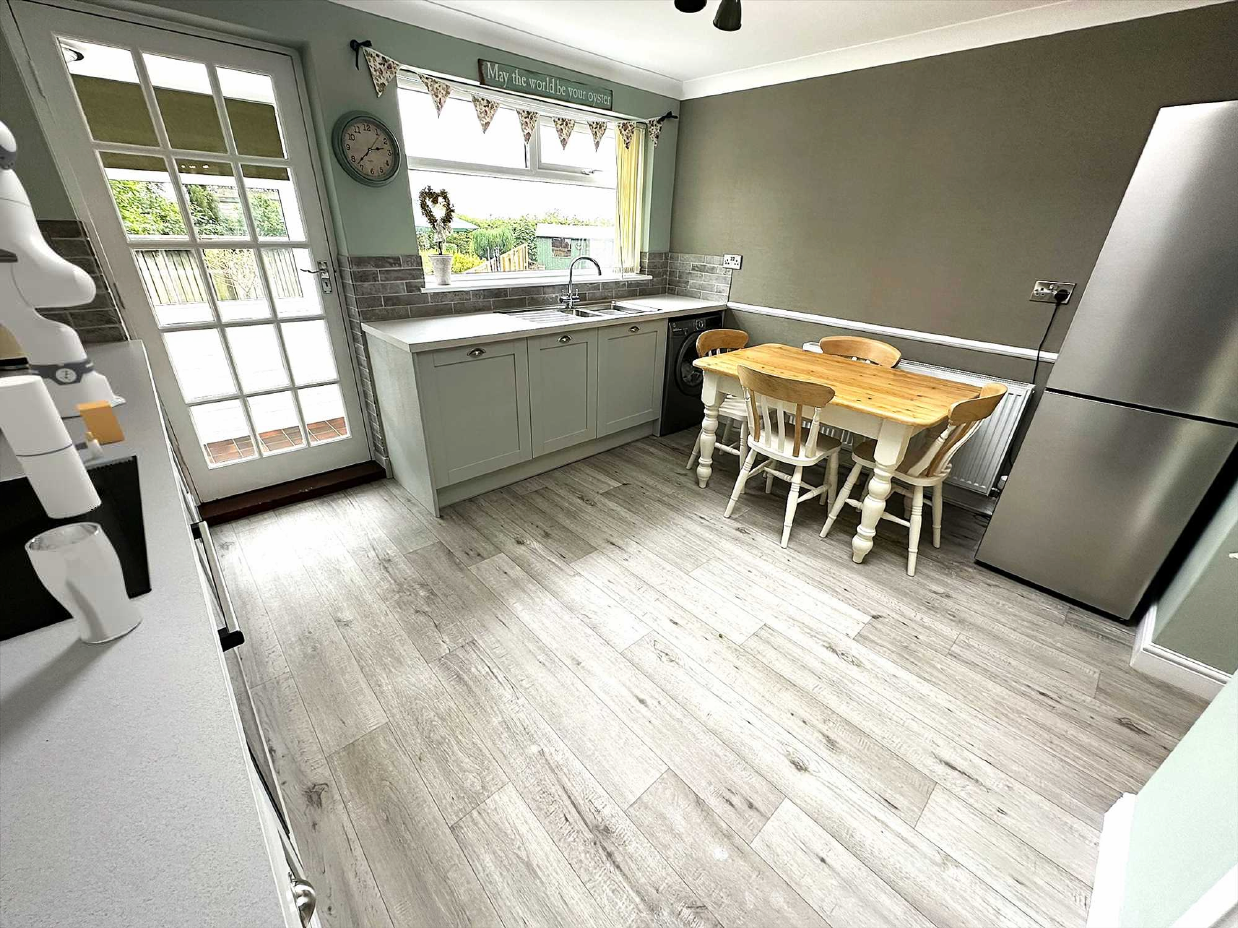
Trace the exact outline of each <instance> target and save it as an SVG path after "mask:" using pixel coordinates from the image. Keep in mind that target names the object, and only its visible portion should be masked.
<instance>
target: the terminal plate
mask: <svg viewBox="0 0 1238 928" xmlns="http://www.w3.org/2000/svg"><path fill="white" fill-rule="evenodd" d="M100 448H101V450H102V452H103V454H104V457H102V458H98V459H94V458H93V457H92V454H91V452H90V450H89V448H88V447H87V448H84V449H83V448H82V449H79V450H77V449H76V451H77V453H78V455H79V457H80V459H81V461H82V463H83V465H84V467H85V469H86V471H89V470H93V468H94V469H98V468H97V467H99V468H103V467H106V466H105V465H108V466H111V465H110V464H112V465H116V463H117V464H120V463H119V462H121V463H125V461H126V462H129V461H128V460H130V461H133V460H134V459H133V456H132V454H131V453H130V452H129V449H128V448H127V446H126V445H125V442H124V440H121V441H116V442H111V443H106V444H101V445H100ZM102 466H103V467H102Z"/></svg>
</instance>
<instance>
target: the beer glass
mask: <svg viewBox="0 0 1238 928" xmlns="http://www.w3.org/2000/svg"><path fill="white" fill-rule="evenodd" d="M112 544H113V543H111V541H110V540H109V538H108V536H107V535H106V534H105V532H104V530H103V529H102V527H101V525H100V524H99V523H96V522H91V521H90V522H78V523H70V524H65V525H61V526H59V527H55V528H52V529H49V530H47V531H44V532H43V533H40V534H38V535H36V536H34V537H33V538H32V539H30V540H29V541H28V542H27V543H26V544H25V545H24V548H25V550H26V553H27V555H28V557H29V559H30V561H31V564H32V566H33V568H34V570H35V572H36V575H37V577H38V578H39V580H40V581H41V582H42V585H44V587H45V588H46V590H48V592H49V593H50V594H51V595H52V596H53V597H54V598H55V599H56V600H57V601H58V602H59V603H60V604H61V605H62V606H63V607H64V608H65V609H66V610H67V611H68V612H69V614H71V616H72V617H73V619H74V620H75V622H76V625H77V629H78V632H79V637H80V640H81V641H82V643H84V642H87V643H93V642H99V641H103V640H106V639H109V638H111V637H114V636H117V635H119V634H121V633H122V632H124V631H127V630H128V629H130V628H133V627H134V626H135V625H136V624H138V623H139V621H140V620H141V618H142V619H143V615H142V612H140V611H139V610H138V609H137V607H136V606H135V605H134V604H133V603H132V602H131V600H130V598H129V596H128V593H127V590H126V585H125V579H124V575H123V574H124V573H123V570H122V565H121V562H120V559H119V556H118V554H117V552H116V549H115V548H114V547H113V545H112ZM141 621H142V620H141ZM87 643H86V644H87Z"/></svg>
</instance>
